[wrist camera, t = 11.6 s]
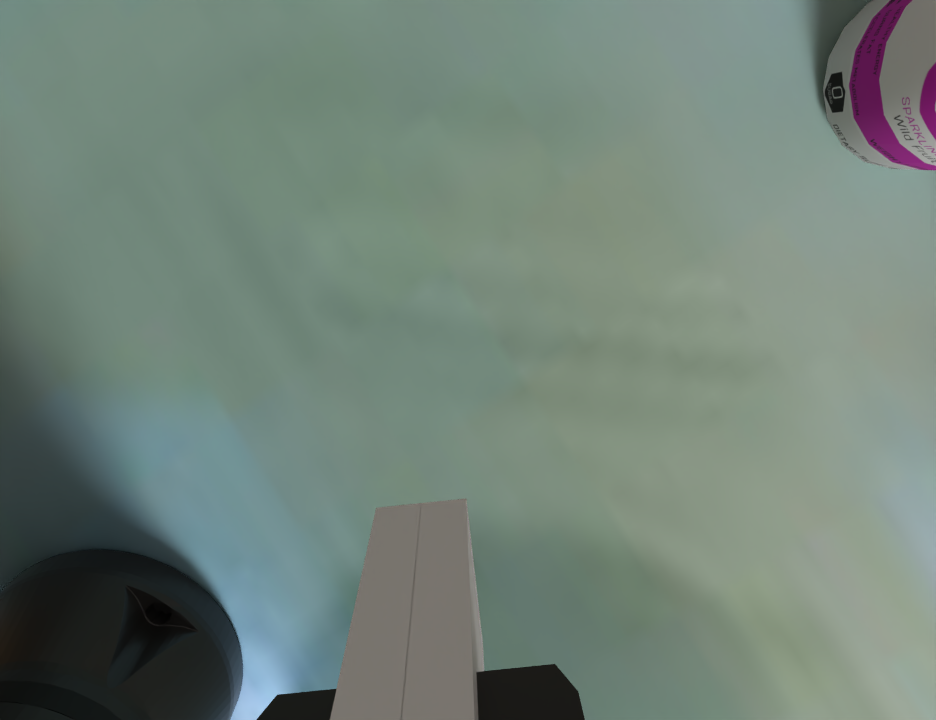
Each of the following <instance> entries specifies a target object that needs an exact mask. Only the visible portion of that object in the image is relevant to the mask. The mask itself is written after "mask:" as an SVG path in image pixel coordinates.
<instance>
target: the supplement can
mask: <svg viewBox="0 0 936 720" xmlns="http://www.w3.org/2000/svg"><path fill="white" fill-rule="evenodd" d="M823 94H824V100H825V107H826V113H827V119H828V122H829V124H830V125H831V127H832V129H833V130H834V132H835V134H836V136H837V137H838V139H839V141H840V142H841V144H842V146H844V147H845V148H846V149H848V150H849V151H850V152H852V153H853V154H854V155H856V156H857V157H858V158H860V159H861V160H862V161H864V162H866V163H870V164H874V165H878V166H882V167H886V168H890V169H914V170H936V0H873V1H871V2H869V3H868V4H867V5H866V6H865V7H864V8H863V9H862V10H861V11H860V12H859V13H858V14H857V15H856V16H855V17H854V18H853V19H852V20H851V21H850V22H849V23H848V24H847V25H846V26H845V27H844V29H843V31H842V33H841V35H840V37H839V38H838V40H837V42H836V44H835V46H834V48H833V50H832V52H831V54H830V56H829V58H828V64H827V69H826V75H825V81H824V86H823Z"/></svg>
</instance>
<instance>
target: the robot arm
mask: <svg viewBox="0 0 936 720" xmlns="http://www.w3.org/2000/svg"><path fill="white" fill-rule="evenodd" d="M242 679H243V663H242V655H241V650H240V646H239V642H238V640H237V637H236V634H235V632H234V630H233V627H232V625H231V624H230V622H229V620H228V618H227V617H226V615H225V614H224V612H223V611H222V609H221V608H220V607H219V605H218V604H217V603H216V602H215V601H214V600H213V599H212V597H211V596H210V595H209V594H208V593H207V592H206V591H205V590H203V589H202V588H201V587H200V586H199V585H198V584H196V583H195V582H194V581H192V580H191V579H190V578H188V577H187V576H185V575H184V574H182V573H180V572H179V571H177V570H175V569H173V568H171V567H169V566H167V565H165V564H163V563H161V562H158V561H156V560H153V559H150V558H147V557H144V556H140V555H137V554H132V553H127V552H122V551H114V550H83V551H75V552H70V553H65V554H61V555H58V556H54V557H51V558H49V559H46V560H44V561H41V562H39V563H37V564H35V565H33V566H32V567H30V568H28V569H27V570H25V571H24V572H22V573H21V574H20V575H18V576H17V577H16V578H15V579H14V580H12V581H11V582H10V583H9V584H8V585H7V586H6V587H5V588H4V589H3V590H2V591H1V592H0V720H230V719H231V716H232V714H233V711H234V709H235V706H236V704H237V701H238V698H239V695H240V691H241V686H242ZM257 720H585V719H584V715H583V710H582V706H581V702H580V697H579V693H578V691H577V690H576V689H575V687H574V686H573V685H572V684H571V683H570V681H569V680H568V679H567V678H566V677H565V675H564V674H563V673H562V672H561V671H560V670H559V668H558V667H557V666H556V665H555V664H551V665H541V666H531V667H521V668H511V669H501V670H491V671H484V658H483V641H482V631H481V623H480V614H479V605H478V596H477V588H476V579H475V570H474V561H473V553H472V544H471V535H470V527H469V518H468V509H467V500H466V499H457V500H448V501H438V502H428V503H418V504H409V505H399V506H389V507H380V508H376V511H375V516H374V520H373V525H372V529H371V534H370V539H369V543H368V548H367V552H366V557H365V561H364V566H363V571H362V575H361V580H360V584H359V589H358V593H357V598H356V603H355V607H354V612H353V616H352V621H351V625H350V630H349V634H348V639H347V644H346V648H345V653H344V657H343V662H342V666H341V671H340V676H339V680H338V685H337V689H330V690H320V691H310V692H300V693H291V694H281V695H277V696H276V697H275V698H274V699H273V701H272V702H271V703H270V704H269V705H268V707H267V708H266V709H265V710H264V711H263V713H262V714H261V715H260V716H259V717H258V719H257Z"/></svg>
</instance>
